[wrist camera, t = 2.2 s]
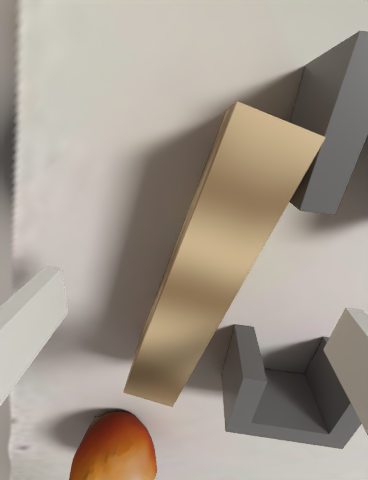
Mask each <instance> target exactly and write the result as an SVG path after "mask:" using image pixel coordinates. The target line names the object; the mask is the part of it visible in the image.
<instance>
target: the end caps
mask: <svg viewBox="0 0 368 480" xmlns="http://www.w3.org/2000/svg"><path fill="white" fill-rule="evenodd" d="M290 123H292V124H294V125H297V126H299V127H302V128H304V129H307V130H309V131H311V132H314V133H316V134H319V135H321V136H324V137H326V138H325V140H324V142H323V143H322V145H321V147H320V149H319V150H318V152H317V154H316V156H315V157H314V159H313V161H312V163H311V164H310V166H309V168H308V170H307V171H306V173H305V175H304V177H303V178H302V180H301V182H300V184H299V185H298V187H297V189H296V191H295V192H294V194H293V196H292V198H291V199H290V201H289V202H290V203H292V204H293V205H294V206H295V207H296V208H297V209H299V210H300V211H308V212H316V213H324V214H331V215H335V214H336V212H337V209H338V207H339V204H340V202H341V199H342V197H343V194H344V192H345V190H346V187H347V185H348V182H349V180H350V177H351V175H352V172H353V170H354V167H355V165H356V162H357V160H358V158H359V155H360V153H361V150H362V148H363V145H364V143H365V140H366V138H367V135H368V32H366V31H359V32H357V33H356V34H354V35H353V36H351V37H349V38H348V39H346V40H345V41H343V42H341V43H340V44H338V45H337V46H335V47H333V48H332V49H330V50H329V51H327V52H325V53H324V54H322V55H321V56H319V57H317V58H316V59H314V60H313V61H311V62H310V63H308V64H306V65H305V68H304V72H303V76H302V80H301V83H300V87H299V91H298V94H297V98H296V102H295V105H294V109H293V113H292V116H291V120H290ZM328 340H329V338H327V337H323V339H322V341H321V343H320V345H319V347H318V349H317V351H316V353H315V355H314V357H313V359H312V361H311V363H310V365H309V367H308V369H307V371H306V373H305V374H298V373H291V372H284V371H277V370H271V369H264V366H263V362H262V358H261V354H260V350H259V346H258V342H257V338H256V334H255V330H254V327H249V326H242V325H235V326H234V330H233V333H232V337H231V341H230V344H229V348H228V352H227V356H226V359H225V363H224V367H223V370H222V374H221V375H222V389H223V403H224V417H225V431H226V432H233V433H239V434H246V435H253V436H259V437H266V438H273V439H279V440H286V441H293V442H299V443H306V444H313V445H319V446H326V447H333V448H339V449H343V448H344V446H345V445H346V444H347V442H348V441H349V440H350V438H351V437H352V436H353V434H354V433H355V432H356V430H357V429H358V428H359V426H360V425H361V424H362V423H361V421H360V419H359V417H358V415H357V414H356V412H355V410H354V408H353V406H352V404H351V402H350V400H349V398H348V396H347V394H346V392H345V390H344V389H343V387H342V385H341V383H340V381H339V379H338V377H337V375H336V373H335V371H334V369H333V367H332V365H331V364H330V362H329V360H328V358H327V356H326V354H325V352H324V350H323V349H324V347H325V345H326V344H327V342H328Z"/></svg>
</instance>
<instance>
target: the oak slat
mask: <svg viewBox="0 0 368 480" xmlns="http://www.w3.org/2000/svg"><path fill="white" fill-rule="evenodd" d="M325 138H326V137H324V136H321V135H319V134H316V133H314V132H311V131H309V130H307V129H304V128H302V127H299V126H297V125H294V124H292V123H289V122H287V121H284V120H282V119H280V118H277V117H275V116H272V115H270V114H267V113H265V112H262V111H260V110H258V109H255V108H253V107H250V106H248V105H245V104H243V103H240V102H238V101H237V102H236V103H235V104H234V105H233V106H231V107H230V108H229V109H228V110H227V111H226V113H225V116H224V118H223V121H222V124H221V126H220V129H219V132H218V134H217V137H216V139H215V142H214V145H213V147H212V150H211V153H210V155H209V158H208V161H207V163H206V166H205V168H204V171H203V174H202V176H201V179H200V182H199V184H198V187H197V189H196V192H195V195H194V197H193V200H192V203H191V205H190V208H189V211H188V213H187V216H186V218H185V221H184V224H183V226H182V229H181V232H180V234H179V237H178V239H177V242H176V245H175V247H174V250H173V253H172V255H171V258H170V261H169V263H168V266H167V268H166V271H165V274H164V276H163V279H162V282H161V284H160V287H159V289H158V292H157V295H156V297H155V300H154V303H153V305H152V308H151V310H150V313H149V316H148V318H147V321H146V324H145V326H144V329H143V332H142V334H141V337H140V340H139V343H138V347H137V350H136V353H135V356H134V359H133V363H132V366H131V369H130V372H129V376H128V379H127V382H126V385H125V389H124V393H127V394H130V395H134V396H137V397H140V398H144V399H147V400H151V401H154V402H157V403H161V404H164V405H167V406H171V407H173V405H174V403H175V402H176V400H177V398H178V396H179V394H180V393H181V391H182V389H183V387H184V386H185V384H186V382H187V380H188V379H189V377H190V375H191V373H192V372H193V370H194V368H195V366H196V365H197V363H198V361H199V359H200V358H201V356H202V354H203V352H204V351H205V349H206V347H207V345H208V344H209V342H210V340H211V338H212V337H213V335H214V333H215V331H216V329H217V328H218V326H219V324H220V322H221V321H222V319H223V317H224V315H225V314H226V312H227V310H228V308H229V307H230V305H231V303H232V301H233V300H234V298H235V296H236V294H237V293H238V291H239V289H240V287H241V286H242V284H243V282H244V280H245V279H246V277H247V275H248V273H249V272H250V270H251V268H252V266H253V264H254V263H255V261H256V259H257V257H258V256H259V254H260V252H261V250H262V249H263V247H264V245H265V243H266V242H267V240H268V238H269V236H270V235H271V233H272V231H273V229H274V228H275V226H276V224H277V222H278V221H279V219H280V217H281V215H282V214H283V212H284V210H285V208H286V207H287V205H288V203H289V201H290V199H291V198H292V196H293V194H294V192H295V191H296V189H297V187H298V185H299V184H300V182H301V180H302V178H303V177H304V175H305V173H306V171H307V170H308V168H309V166H310V164H311V163H312V161H313V159H314V157H315V156H316V154H317V152H318V150H319V149H320V147H321V145H322V143H323V142H324V140H325Z"/></svg>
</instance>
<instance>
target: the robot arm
mask: <svg viewBox="0 0 368 480" xmlns="http://www.w3.org/2000/svg"><path fill="white" fill-rule="evenodd" d="M67 314H68V306H67V299H66V292H65V285H64V278H63V271H62V268H59V267H52V266H45V267H44V268H43V269H42V270H41V271H40V272H38V273H37V274H36V275H35V276H34V277H33V278H32V279H31V280H29V281H28V282H27V283H26V284H25V285H24V286H23V287H22V288H20V289H19V290H18V291H17V292H16V293H15V294H14V295H13V296H11V297H10V298H9V299H8V300H7V301H6V302H5V303H3V305H1V306H0V406H1V404H2V403H3V402H4V400H5V399H6V397H7V396H8V395H9V393H10V392H11V391H12V389H13V388H14V386H15V385H16V384H17V382H18V381H19V380H20V378H21V377H22V375H23V374H24V373H25V371H26V370H27V369H28V367H29V366H30V365H31V363H32V362H33V360H34V359H35V358H36V356H37V355H38V354H39V352H40V351H41V349H42V348H43V347H44V345H45V344H46V343H47V341H48V340H49V338H50V337H51V336H52V334H53V333H54V332H55V330H56V329H57V327H58V326H59V325H60V323H61V322H62V321H63V319H64V318H65V316H66V315H67ZM323 350H324V352H325V354H326V356H327V358H328V360H329V362H330V364H331V365H332V367H333V369H334V371H335V373H336V375H337V377H338V379H339V381H340V383H341V385H342V387H343V389H344V390H345V392H346V394H347V396H348V398H349V400H350V402H351V404H352V406H353V408H354V410H355V412H356V414H357V415H358V417H359V419H360V421H361V423H362V425H363V427H364V429H365V431H366V433H367V435H368V316H367V315H366V313H365V312H364V311H363V310H357V309H350V308H345V310H344V312H343V314H342V316H341V318H340V319H339V321H338V323H337V325H336V327H335V329H334V331H333V332H332V334H331V336H330V338H329V340H328V342H327V344H326V345H325V347H324V349H323Z"/></svg>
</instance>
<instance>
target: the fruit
mask: <svg viewBox="0 0 368 480" xmlns="http://www.w3.org/2000/svg"><path fill="white" fill-rule="evenodd" d="M156 473H157V466H156V456H155V449H154V445H153V442H152V439H151V436H150V434H149V432H148V430H147V428H146V427H145V426H144V425H143V424H142V423H141V422H140V421H139V420H138V419H137V418H136V417H135V416H134V415H132V414H130V413H127V412H110V413H106V414H105V415H103V416H101V417H96V416H95V418H94V420H93V422H92V424H91V425H90V426H89V429H88V430H87V432H86V434H85V436H84V438H83V440H82V442H81V444H80V446H79V448H78V450H77V451H76V453H75V456H74V458H73V462H72V466H71V472H70V478H69V480H154V479H155V476H156Z"/></svg>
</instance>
